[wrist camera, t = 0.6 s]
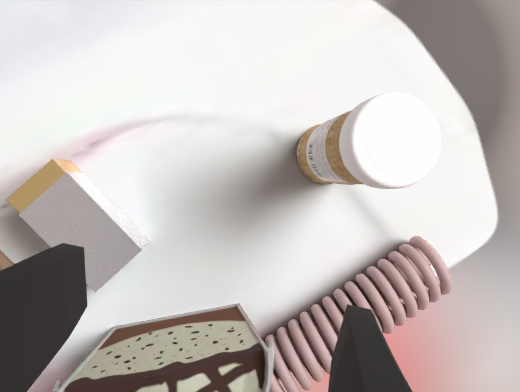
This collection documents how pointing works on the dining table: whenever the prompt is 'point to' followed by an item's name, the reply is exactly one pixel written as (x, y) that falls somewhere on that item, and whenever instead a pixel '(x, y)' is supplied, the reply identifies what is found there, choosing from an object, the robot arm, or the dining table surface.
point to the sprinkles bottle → (373, 144)
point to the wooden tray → (4, 261)
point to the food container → (178, 356)
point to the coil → (385, 281)
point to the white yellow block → (78, 219)
